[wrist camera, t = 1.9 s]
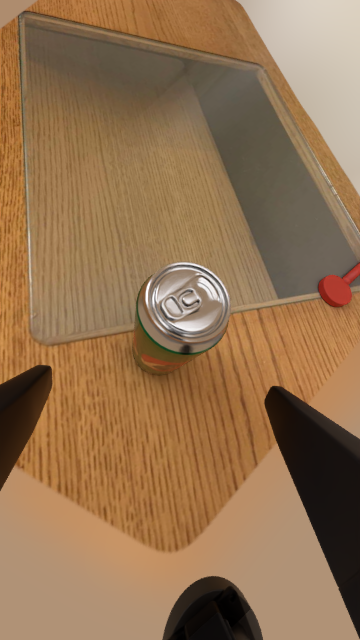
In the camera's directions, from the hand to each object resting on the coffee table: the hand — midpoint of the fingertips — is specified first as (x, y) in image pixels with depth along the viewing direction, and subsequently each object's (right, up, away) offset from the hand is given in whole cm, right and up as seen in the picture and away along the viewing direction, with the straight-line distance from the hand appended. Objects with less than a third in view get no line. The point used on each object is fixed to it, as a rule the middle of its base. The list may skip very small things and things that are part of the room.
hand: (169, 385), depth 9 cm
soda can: (-2, 0, +13) cm, 13 cm away
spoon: (+25, +9, +22) cm, 34 cm away
